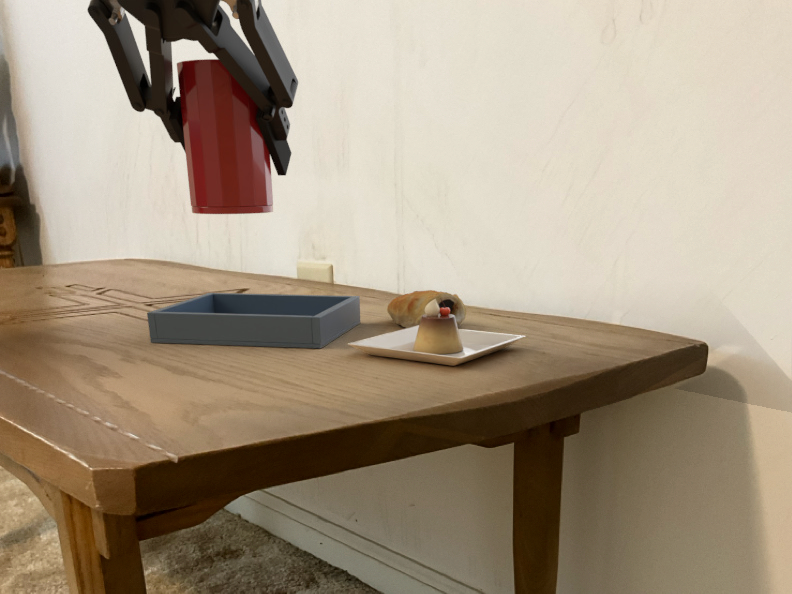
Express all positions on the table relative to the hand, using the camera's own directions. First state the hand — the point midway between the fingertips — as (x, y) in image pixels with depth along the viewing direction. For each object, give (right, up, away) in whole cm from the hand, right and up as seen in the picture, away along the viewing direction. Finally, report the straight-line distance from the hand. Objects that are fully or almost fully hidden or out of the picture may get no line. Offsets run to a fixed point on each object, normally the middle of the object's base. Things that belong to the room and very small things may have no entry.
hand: (243, 164), depth 80 cm
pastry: (+17, -12, +12) cm, 24 cm away
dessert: (+18, -18, -1) cm, 26 cm away
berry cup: (-1, -5, -1) cm, 5 cm away
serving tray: (0, -14, +9) cm, 16 cm away
